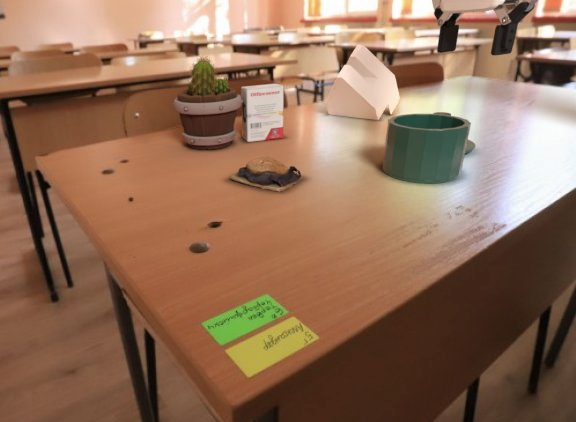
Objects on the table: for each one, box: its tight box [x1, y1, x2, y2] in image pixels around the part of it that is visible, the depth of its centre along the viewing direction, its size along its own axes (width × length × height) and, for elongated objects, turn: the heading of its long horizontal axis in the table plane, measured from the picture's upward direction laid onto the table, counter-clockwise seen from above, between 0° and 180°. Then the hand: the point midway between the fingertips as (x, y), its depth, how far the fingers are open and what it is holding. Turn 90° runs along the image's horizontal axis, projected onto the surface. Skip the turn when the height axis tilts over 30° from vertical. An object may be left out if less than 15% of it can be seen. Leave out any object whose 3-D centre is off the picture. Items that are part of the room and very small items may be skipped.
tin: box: [382, 113, 472, 184], centre depth 69 cm, size 12×12×8 cm
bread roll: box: [229, 156, 304, 193], centre depth 71 cm, size 11×8×4 cm
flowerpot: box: [172, 55, 243, 151], centre depth 90 cm, size 14×15×20 cm
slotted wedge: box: [324, 44, 401, 121], centre depth 107 cm, size 14×11×18 cm
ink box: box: [240, 83, 285, 143], centre depth 94 cm, size 9×5×12 cm, turn 100°
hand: (471, 53), depth 64 cm, fingers open, 9 cm apart
